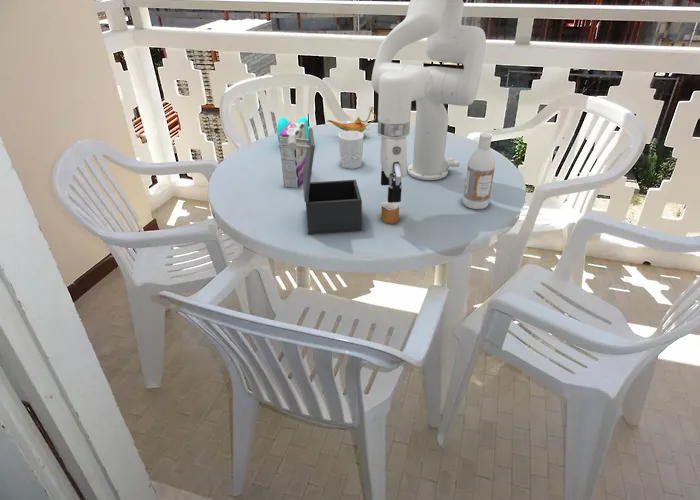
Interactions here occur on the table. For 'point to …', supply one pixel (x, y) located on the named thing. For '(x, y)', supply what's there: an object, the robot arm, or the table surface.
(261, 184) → the table surface
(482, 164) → the bath foam
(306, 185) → the brewer lid
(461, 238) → the table surface
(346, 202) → the dark grey storage bin
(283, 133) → the candy bar box
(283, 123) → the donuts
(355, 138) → the white cup
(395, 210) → the cylinder
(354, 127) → the magic lamp
